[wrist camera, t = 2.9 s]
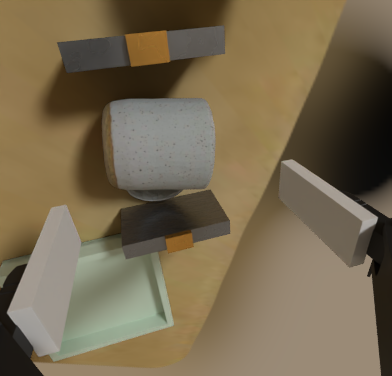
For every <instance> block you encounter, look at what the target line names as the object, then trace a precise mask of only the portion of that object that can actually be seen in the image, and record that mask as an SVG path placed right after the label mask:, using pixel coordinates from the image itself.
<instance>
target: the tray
mask: <svg viewBox="0 0 392 376" xmlns="http://www.w3.org/2000/svg"><path fill="white" fill-rule="evenodd" d="M31 255H32V254H30V255H26V256H22V257H18V258H13V259H9V260H5V261H3V263H2V265H1V267H0V287H1V288H3V284H4V282H5V280H6V278H7V276H8V275H9V274H10V273H11V271H12V270H13V269H14V268H15V267H16V266H19V265H23V264H28V262H29V260H30V257H31ZM170 326H174V323H173V318H172V313H171V308H170V303H169V299H168V294H167V290H166V285H165V281H164V277H163V272H162V268H161V263H160V259H159V254H158V252H154V253H150V254H146V255H142V256H138V257H134V258H130V259H126V258H125V255H124V252H123V249H122V237H121V234H117V235H113V236H108V237H104V238H100V239H95V240H91V241H87V242H82V243H81V247H80V252H79V257H78V262H77V267H76V272H75V277H74V282H73V287H72V292H71V297H70V302H69V307H68V312H67V317H66V322H65V328H64V333H63V338H62V343H61V348H60V351H58V352H55V353H51V354H49V356H50V357H51V358H52V360H53V361H58V360H61V359H64V358H68V357H71V356H74V355H78V354H81V353H84V352H88V351H91V350H94V349H98V348H101V347H104V346H107V345H111V344H114V343H117V342H121V341H124V340H127V339H131V338H134V337H137V336H141V335H144V334H147V333H150V332H154V331H157V330H160V329H164V328H167V327H170Z"/></svg>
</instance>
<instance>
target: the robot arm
mask: <svg viewBox="0 0 392 376" xmlns="http://www.w3.org/2000/svg"><path fill="white" fill-rule="evenodd" d="M280 173H281V174H280V186H279V199H280V200H281V201H282V202H283V203H284V204H285V205H286V206H287V207H288V208H289V209H291V211H292V212H293V213H295V215H296V216H298V217H299V218H300V219H301V220H302V221H303V222H304V223H305V224H306V225H307V226H308V227H309V228H310V229H311V230H312V231H313V232H314V233H315V234H316V235H317V236H318V237H319V238H320V239H321V240H322V241H323V242H324V243H325V244H326V245H327V246H328V247H329V248H330V249H331V250H332V251H333V252H334V253H336V255H337V256H338V257H340V258H341V259H342V261H344V262H345V263H346V264H347V265H348V266H349V267H353V266H357V265H360V264H363V263H364V260H365V257H366V254H367V255H369V256H370V257H371V258H372V259H373V260H372V263H371V266H370V269H369V272H368V275H367V276H368V277H370V275H371V274H372V280H373V281H372V282H373V291H374V303H375V314H376V325H377V335H378V346H379V357H380V366H381V367H380V368H381V376H392V218H388V217H387V216H385V215H383V214H382V213H380V212H379V211H377V210H376V209H374V208H373V207H371V206H370V205H368V204H366V203H365V202H363V201H362V200H360V199H359V198H357V197H356V196H354V195H353V194H350V193H348V192H345V191H342V190H341V191H338V190H337V189H335V188H334V187H332V186H331V185H329V184H328V183H326V182H325V181H323V180H322V179H320V178H319V177H318V176H316V175H314V174H313V173H312V172H310V171H309V170H307V169H306V168H304V167H303V166H301V165H299V164H298V163H297V162H295V161H294V160H287V161H282V162H281V172H280ZM80 247H81V240H80V238H79V235H78V233H77V230H76V228H75V225H74V223H73V221H72V218H71V216H70V213H69V211H68V208H67V206H66V205H63V206H58V207H53V208H51V210H50V212H49V215H48V217H47V220H46V222H45V224H44V227H43V229H42V231H41V234H40V236H39V238H38V241H37V243H36V245H35V248H34V250H33V252H32V255H31V257H30V260H29V262H28V264H23V265H19V266H16V267H15V268H14V269H13V270H12V271H11V273H10V274H9V275H8V276H7V278H6V280H5V282H4V284H3V288H1V290H0V376H43V374H42V373H41V372H40V371H39V369H38V368H37V367H36V366H35V364H34V363H33V362H32V361H31V359H30V358H31V355H32V351H33V349H34V351H35V352H36V354H37V355H38V356H39V357H41V356H44V355H48V354H51V353H55V352H58V351H60V348H61V343H62V338H63V333H64V328H65V322H66V317H67V312H68V307H69V302H70V297H71V292H72V287H73V282H74V277H75V272H76V267H77V262H78V257H79V252H80Z"/></svg>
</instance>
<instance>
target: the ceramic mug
mask: <svg viewBox="0 0 392 376" xmlns="http://www.w3.org/2000/svg"><path fill="white" fill-rule="evenodd" d="M102 142H103V153H104V163H105V169H106V174H107V178H108V180H109V183H110V184H111V185H112V186H114V187H115V188H119V189H125V190H127V191H128V193H129V194H130V195H131V196H133V197H135V198H137V199H140V200H145V201H162V200H167V199H170V198H173V197H174V196H176V195H178V194H179V193H180V192H181V191H182V190H183V189H204V188H206V187H207V186H208V184H209V182H210V180H211V177H212V173H213V167H214V158H215V128H214V122H213V116H212V112H211V109H210V107H209V105H208V103H207V101H206V100H204V99H202V98H161V99H122V100H116V101H112V102H109V103H108V104H107V105H106V106H105V107H104V109H103V114H102Z"/></svg>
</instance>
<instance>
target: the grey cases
mask: <svg viewBox="0 0 392 376" xmlns="http://www.w3.org/2000/svg"><path fill="white" fill-rule="evenodd" d="M57 44H58V47H59V50H60V53H61V56H62V59H63V63H64V66H65V69H66V72H67V73H71V72H80V71H88V70H96V69H104V68H112V67H120V66H129V65H131V67H134V66H142V65H150V64H158V63H166V62H170V60H178V59H186V58H194V57H202V56H210V55H219V54H225V37H224V26H214V27H204V28H194V29H185V30H175V31H166V30H164V31H155V32H145V33H135V34H125V36H116V37H106V38H97V39H87V40H77V41H67V42H58V43H57ZM227 234H230V220H229V219H228V217H227V215H226V214H225V212H224V210H223V209H222V207H221V206H220V204H219V202H218V201H217V199H216V198H215V196H214V194H213V193H212V191H211V190H206V191H202V192H197V193H192V194H188V195H183V196H179V197H174V198H170V199H167V200H162V201H155V202H151V203H146V204H141V205H137V206H132V207H127V208H123V209H121V237H122V249H123V252H124V255H125V258H126V259H130V258H134V257H138V256H142V255H146V254H150V253H154V252H158V251H162V250H166V249H167V250H168V253H172V252H176V251H180V250H184V249H188V248H192V247H194V246H193V243H195V242H199V241H203V240H207V239H211V238H215V237H219V236H223V235H227Z"/></svg>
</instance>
